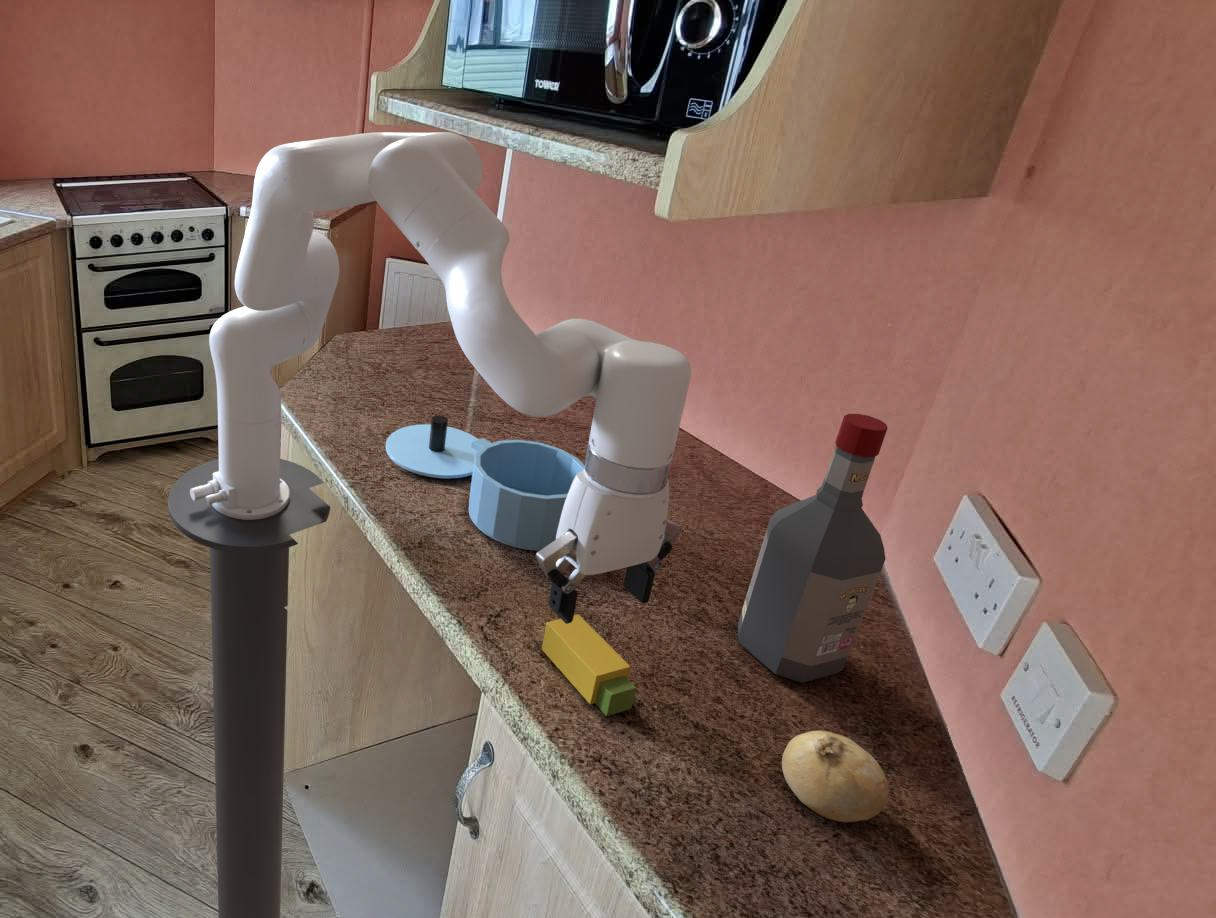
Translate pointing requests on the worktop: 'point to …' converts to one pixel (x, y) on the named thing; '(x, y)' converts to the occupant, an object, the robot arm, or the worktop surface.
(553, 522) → the pot
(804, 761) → the onion
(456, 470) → the lid
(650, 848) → the worktop surface
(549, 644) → the corn
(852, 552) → the liquor
